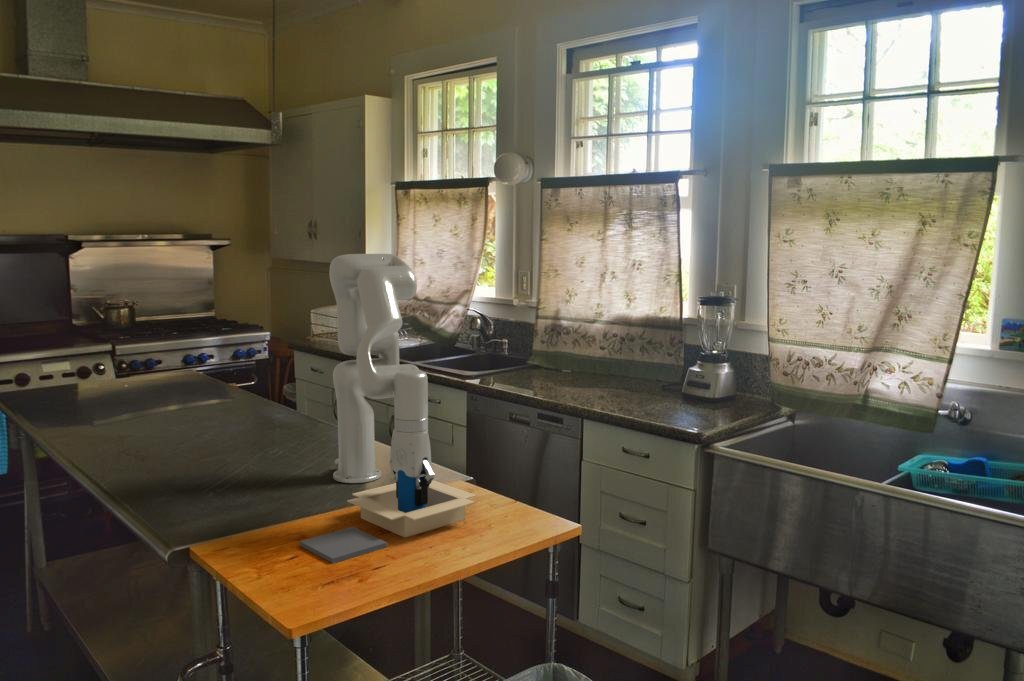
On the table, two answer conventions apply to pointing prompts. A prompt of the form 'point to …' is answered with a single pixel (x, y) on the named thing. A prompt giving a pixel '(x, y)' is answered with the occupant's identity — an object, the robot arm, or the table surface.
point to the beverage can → (407, 493)
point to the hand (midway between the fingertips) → (411, 500)
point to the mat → (343, 544)
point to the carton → (439, 511)
